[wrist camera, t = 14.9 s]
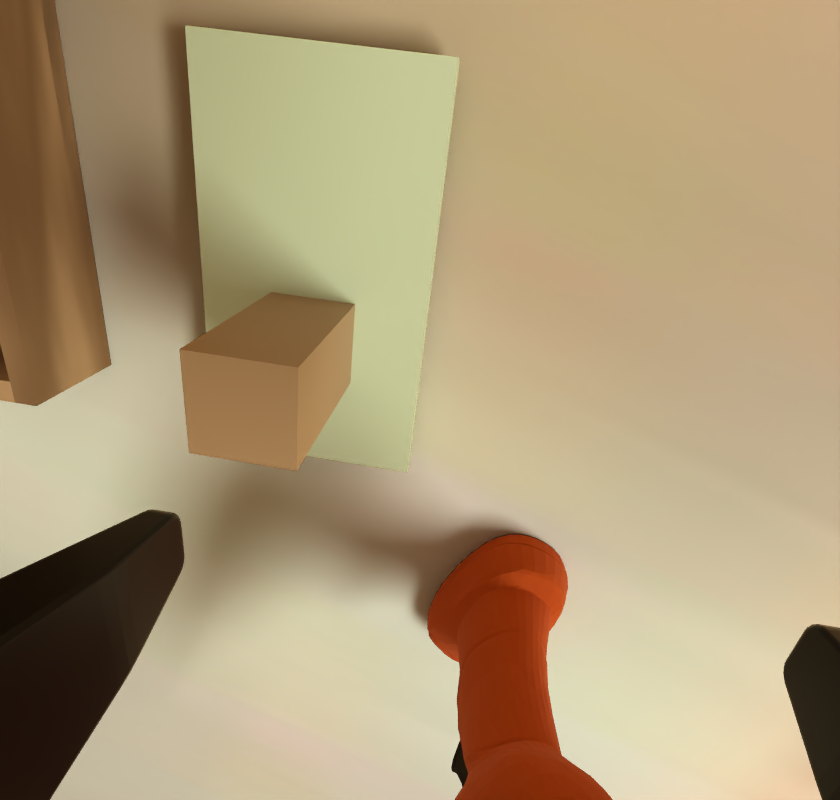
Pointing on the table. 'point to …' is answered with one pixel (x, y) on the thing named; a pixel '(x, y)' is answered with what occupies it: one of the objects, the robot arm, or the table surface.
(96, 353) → the tan wooden t-shaped piece
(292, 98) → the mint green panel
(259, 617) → the table surface
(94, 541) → the robot arm
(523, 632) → the toy drill
